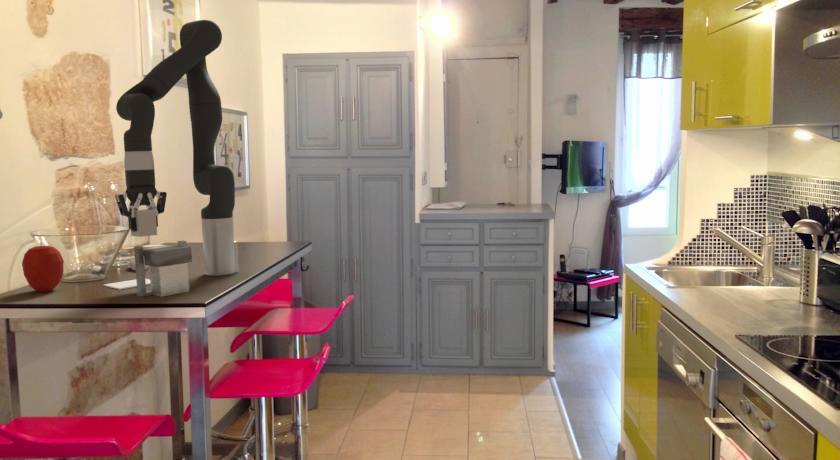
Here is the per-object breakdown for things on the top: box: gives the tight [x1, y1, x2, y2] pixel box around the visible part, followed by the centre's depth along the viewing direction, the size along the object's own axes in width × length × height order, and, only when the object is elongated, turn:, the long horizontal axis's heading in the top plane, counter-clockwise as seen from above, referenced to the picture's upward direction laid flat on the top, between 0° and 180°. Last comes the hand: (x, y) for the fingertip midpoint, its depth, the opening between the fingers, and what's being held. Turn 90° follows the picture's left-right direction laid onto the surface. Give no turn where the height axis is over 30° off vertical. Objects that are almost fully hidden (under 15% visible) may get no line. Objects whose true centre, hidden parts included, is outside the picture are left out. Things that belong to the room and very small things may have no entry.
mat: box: [102, 278, 151, 291], centre depth 200 cm, size 12×10×1 cm
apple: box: [21, 243, 64, 293], centre depth 193 cm, size 10×10×14 cm
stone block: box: [130, 208, 158, 238], centre depth 192 cm, size 5×5×7 cm
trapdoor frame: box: [133, 240, 192, 298], centre depth 186 cm, size 8×14×13 cm, turn 138°
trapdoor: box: [121, 243, 193, 267], centre depth 189 cm, size 19×11×4 cm, turn 48°
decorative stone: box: [128, 257, 150, 272], centre depth 229 cm, size 6×16×3 cm, turn 25°
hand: (143, 230), depth 193 cm, fingers closed on stone block, 5 cm apart
